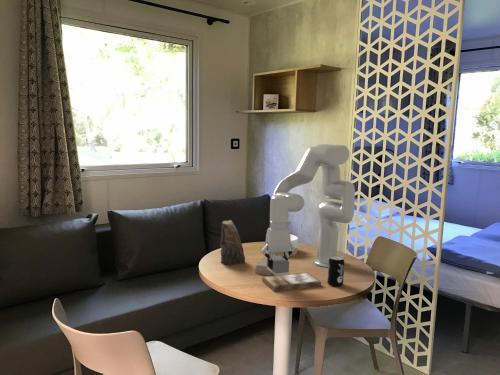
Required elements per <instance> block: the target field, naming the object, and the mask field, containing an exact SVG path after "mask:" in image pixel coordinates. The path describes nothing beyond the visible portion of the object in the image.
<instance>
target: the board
mask: <svg viewBox="0 0 500 375" xmlns="http://www.w3.org/2000/svg"><path fill="white" fill-rule="evenodd" d="M261 280H262V281H261V282H262V283H263V284H264V285H265V286H267V287H268V288H269V289H270V290H271V291H272V292H273V293H275V292H282V291H291V290H299V289H300V290H301V289H308V288H317V287H321V286H322V281H321V280H320V279H318V278H317V277H315V276H313V275H312V274H310V273H309V272H306V271H305V272H297V273H289V274H281V275H272V276H269V275H266V276H262V278H261Z"/></svg>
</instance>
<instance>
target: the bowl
mask: <svg viewBox="0 0 500 375" xmlns="http://www.w3.org/2000/svg"><path fill="white" fill-rule="evenodd" d="M290 238H291V244H292V245H293V246H294V247H295V250H294V251H293V252H292V254H291V255H290V256H289V257H292V256H295V255H297V254H298V246H299V238H298V236H296V235H294V234H291V233H290ZM268 252H269V251H267V250H266V253H267V254H268ZM278 255H280V256H282V257H283V256H284V254H283V252H281V253H274V254H273V256H278Z"/></svg>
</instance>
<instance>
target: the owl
mask: <svg viewBox="0 0 500 375" xmlns="http://www.w3.org/2000/svg"><path fill="white" fill-rule="evenodd" d="M220 229H221V230H220V231H221V234H220V235H219V238H220V240H219V241H220V245H219V246H220V256H221V257H220V259H221V261H220V263H221V264H222V265H224V266H225V265H228V266H232V265H239V264H240V263H241V264H245V263H246V256H245V252H244V247H243V244H242V241H241V238H240V234H239V231H238V229H237V226H235V223H234V221H232V220H231V219H229V220H223V221H221V226H220Z"/></svg>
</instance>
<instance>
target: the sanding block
mask: <svg viewBox="0 0 500 375" xmlns="http://www.w3.org/2000/svg"><path fill="white" fill-rule="evenodd" d="M272 260H273V269H270V268H269V267H268V258H267V269H269V270H270V271H271V272H272V273H273V275H274V276H276V275H286V274H290V261H289V260H288V261H287V260H286V259H284V258H283V256H280V255H278V256H276V255H273V257H272Z"/></svg>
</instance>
